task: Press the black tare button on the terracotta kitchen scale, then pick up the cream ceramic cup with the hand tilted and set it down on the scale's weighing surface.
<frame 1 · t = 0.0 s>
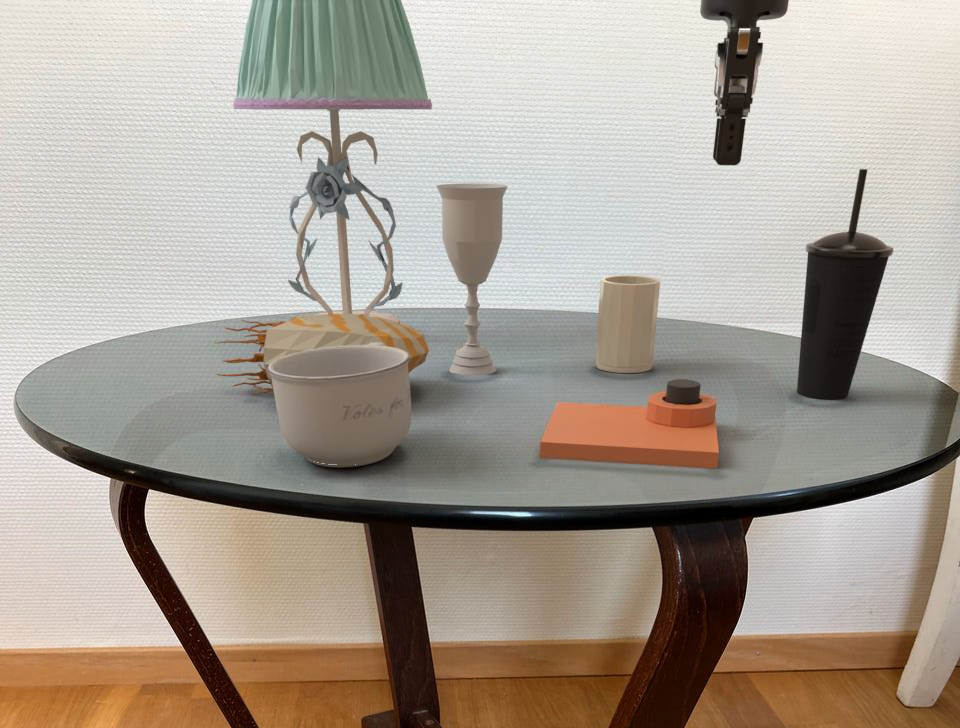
hand: (725, 163, 89), 20 cm above the table, tool pointing down, fingers open, 8 cm apart
scale: (630, 441, 80), on the table
tare button: (682, 393, 80), point 4 cm above the table, slide at 0.1 cm
table lamp: (349, 340, 116), on the table
teacup: (357, 453, 77), on the table
chalice: (472, 372, 102), on the table
drinking cup: (821, 396, 93), on the table
nautilus: (321, 394, 93), on the table
cup: (623, 366, 103), on the table
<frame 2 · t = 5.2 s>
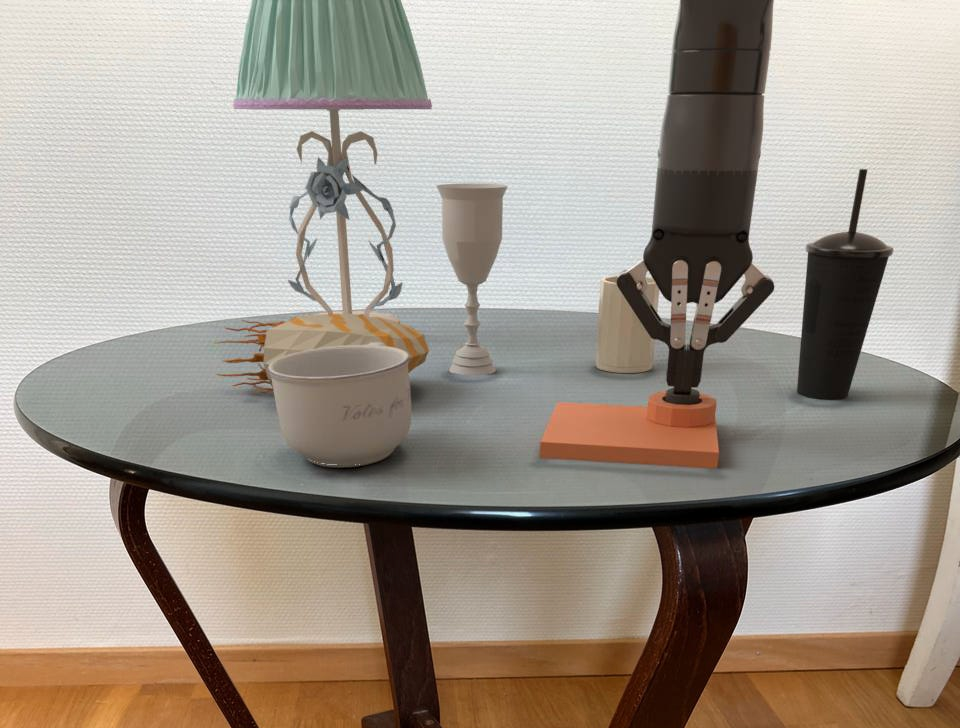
hand: (682, 391, 80), 4 cm above the table, tool pointing down, fingers closed
tare button: (682, 401, 80), point 3 cm above the table, slide at -0.6 cm, touching gripper
everything else where it was.
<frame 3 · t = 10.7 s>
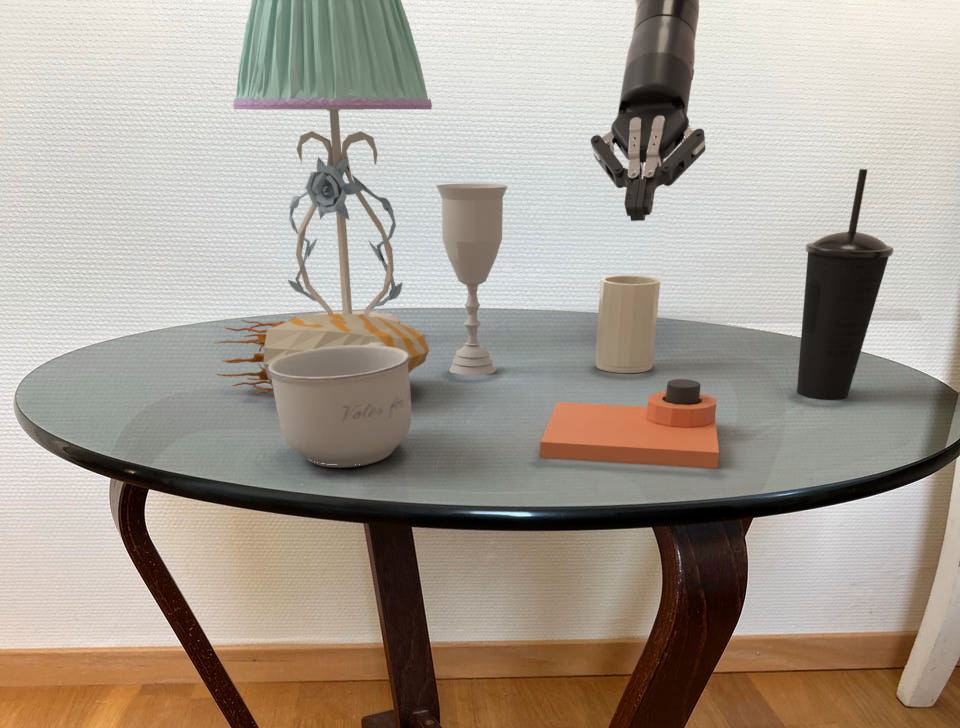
hand: (637, 216, 101), 15 cm above the table, tool tilted 40°, fingers closed
tare button: (682, 393, 80), point 4 cm above the table, slide at 0.1 cm
everything else where it was.
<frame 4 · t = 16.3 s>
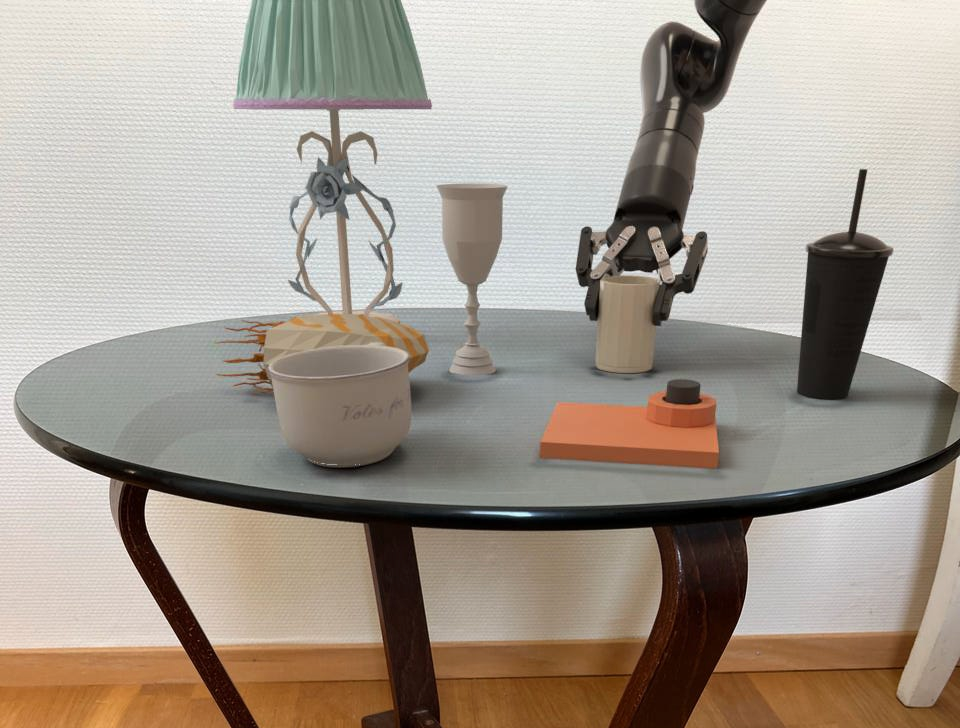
hand: (624, 318, 99), 5 cm above the table, tool tilted 45°, fingers closed on cup, 6 cm apart
cup: (623, 366, 103), on the table, touching gripper
everything else where it was.
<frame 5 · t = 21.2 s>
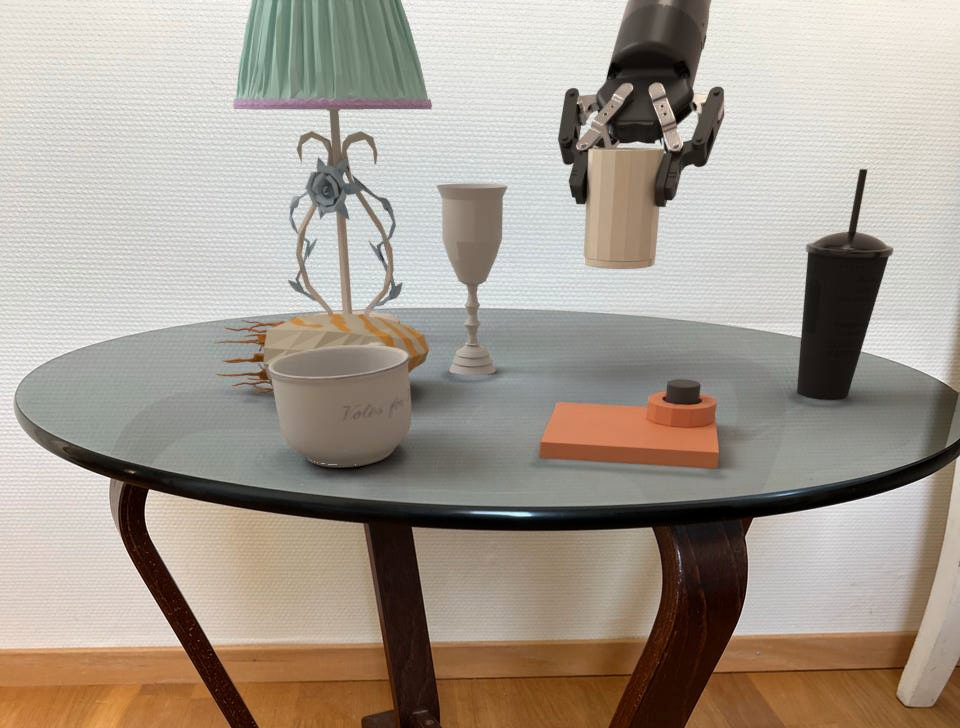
hand: (619, 198, 79), 18 cm above the table, tool tilted 45°, fingers closed on cup, 6 cm apart
cup: (619, 264, 82), point 13 cm above the table, touching gripper
everything else where it was.
when the fingers open (7 cm above the table, at t = 26.5 s): cup stays where it is, resting on scale.
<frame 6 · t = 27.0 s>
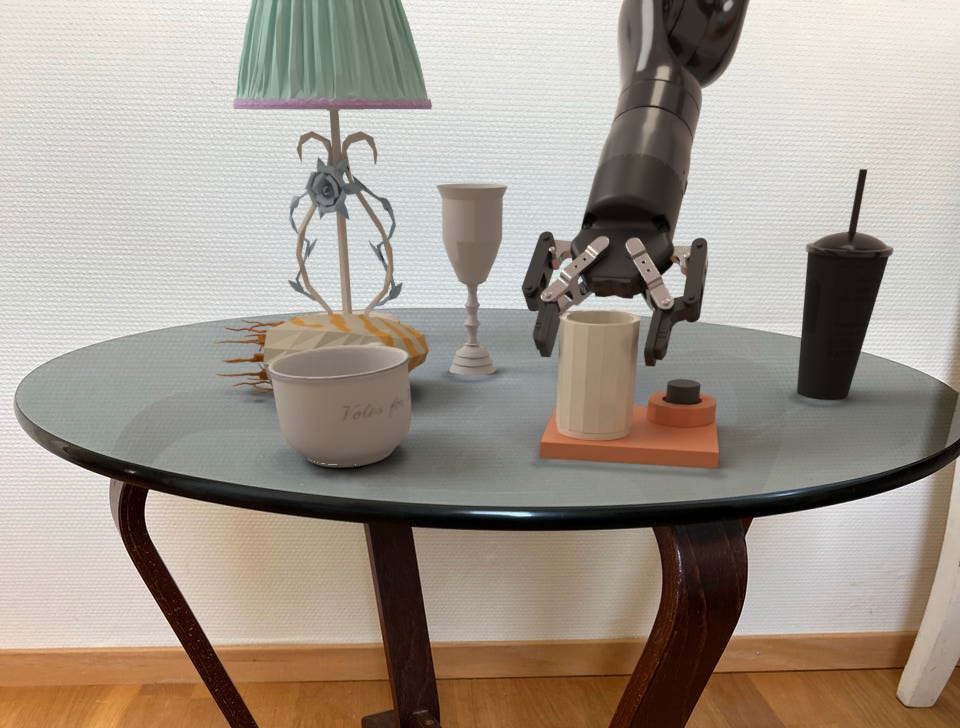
hand: (595, 356, 74), 8 cm above the table, tool tilted 45°, fingers open, 8 cm apart
cup: (593, 429, 78), point 1 cm above the table, touching scale
everything else where it was.
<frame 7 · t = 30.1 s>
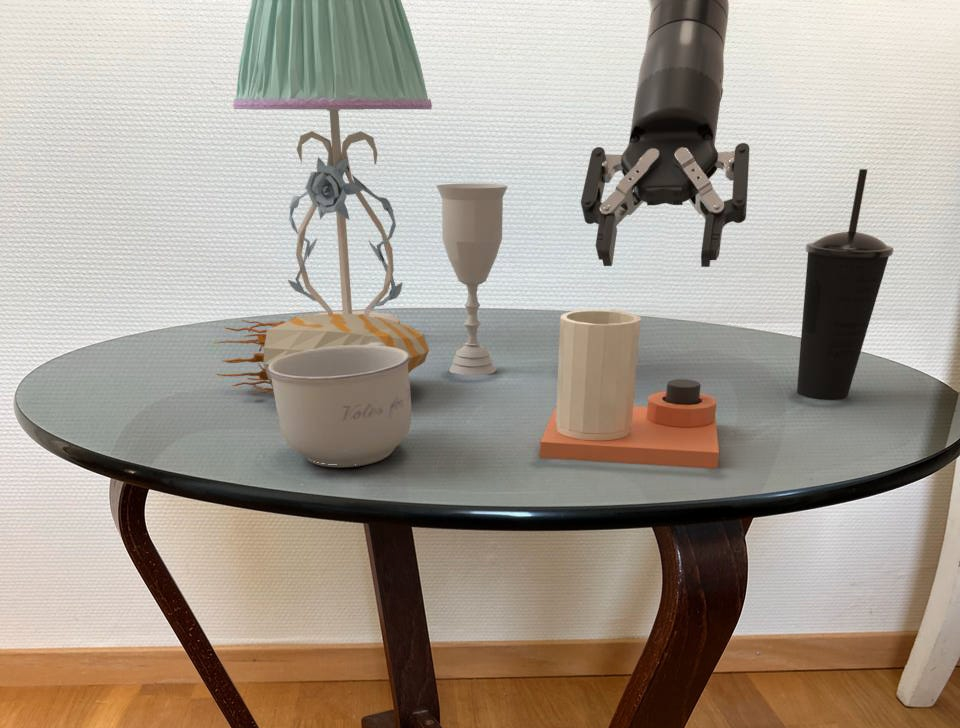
hand: (655, 261, 82), 13 cm above the table, tool tilted 40°, fingers open, 8 cm apart
nothing on the table moved.
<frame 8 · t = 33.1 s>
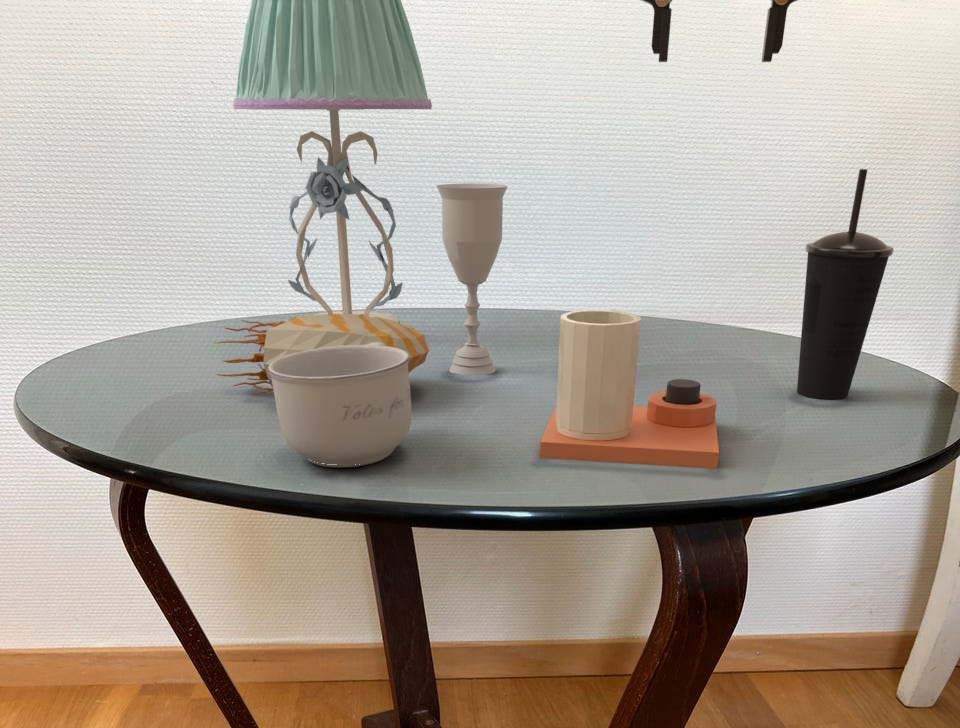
hand: (714, 61, 79), 28 cm above the table, tool pointing down, fingers open, 8 cm apart
nothing on the table moved.
at the end: tare button pushed in 0.9 cm at the most during the clip, back to where it started at the end; cup inside the target area on the scale (3.6 cm from its centre), point 1.4 cm above the scale's base; cup tilted 0° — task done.
